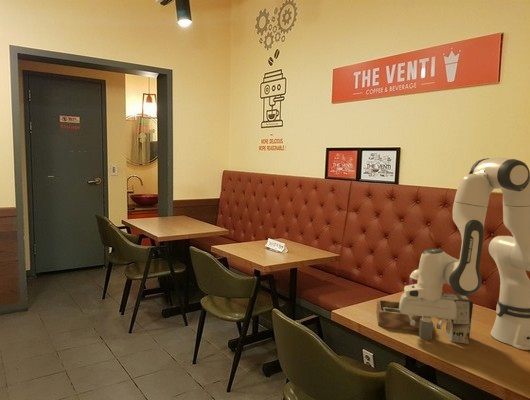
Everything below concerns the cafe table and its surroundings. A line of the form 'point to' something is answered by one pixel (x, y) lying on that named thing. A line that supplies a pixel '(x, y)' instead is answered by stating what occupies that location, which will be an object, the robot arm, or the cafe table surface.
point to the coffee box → (460, 320)
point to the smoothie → (414, 277)
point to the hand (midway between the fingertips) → (425, 326)
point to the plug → (425, 328)
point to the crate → (394, 316)
